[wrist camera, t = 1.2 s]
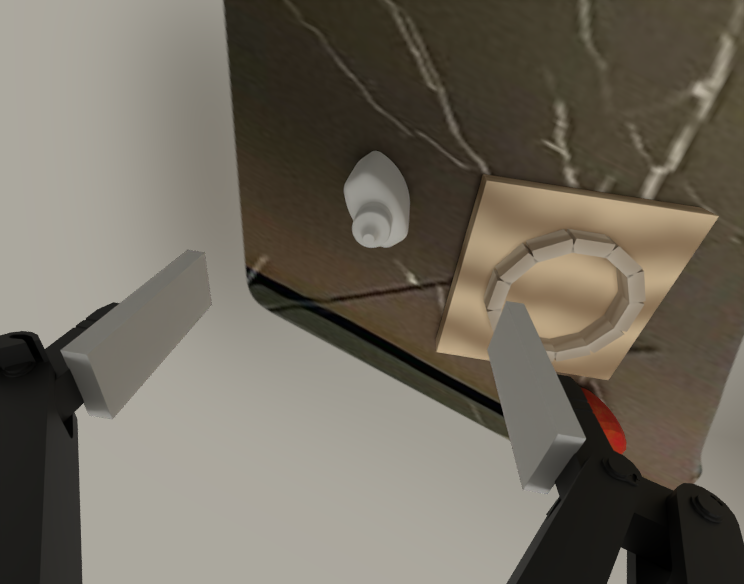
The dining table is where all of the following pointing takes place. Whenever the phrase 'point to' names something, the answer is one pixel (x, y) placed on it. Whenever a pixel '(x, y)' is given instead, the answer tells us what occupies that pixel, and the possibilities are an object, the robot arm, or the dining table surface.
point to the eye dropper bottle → (377, 201)
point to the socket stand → (567, 269)
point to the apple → (607, 422)
